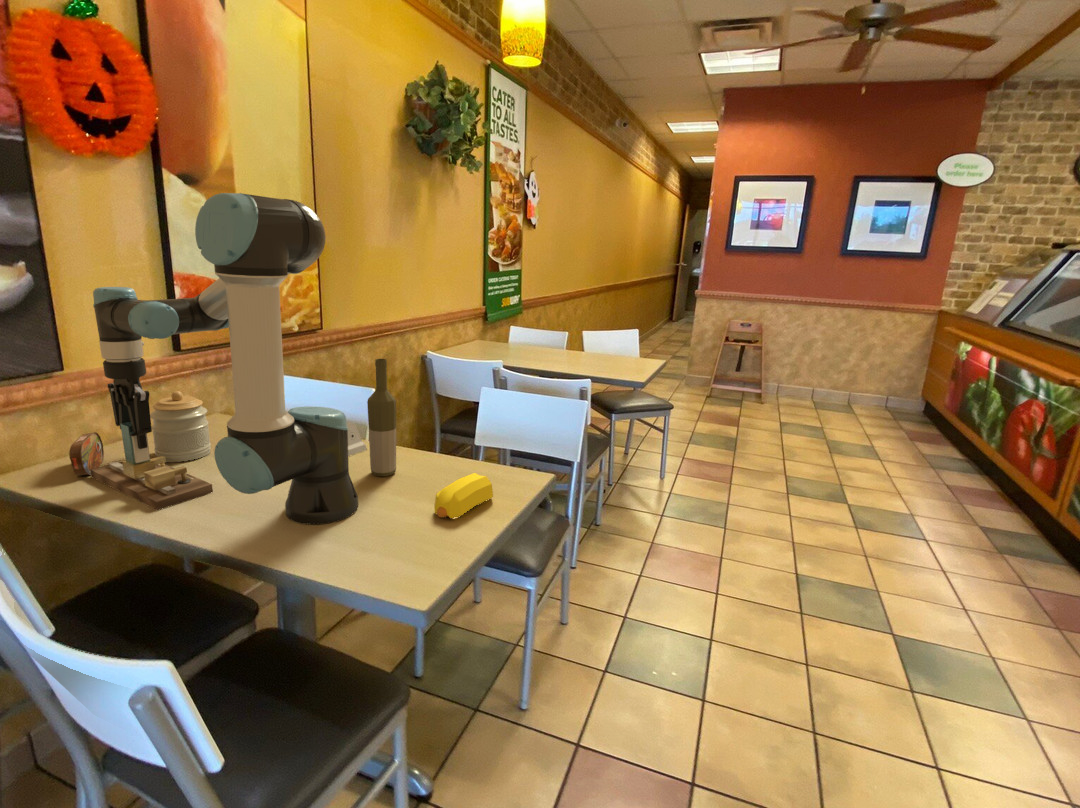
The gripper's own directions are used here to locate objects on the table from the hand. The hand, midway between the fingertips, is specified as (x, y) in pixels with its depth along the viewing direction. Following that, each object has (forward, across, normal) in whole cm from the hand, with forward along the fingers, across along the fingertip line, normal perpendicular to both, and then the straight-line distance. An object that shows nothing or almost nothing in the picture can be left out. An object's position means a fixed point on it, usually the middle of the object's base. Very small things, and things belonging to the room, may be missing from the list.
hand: (137, 458), depth 132 cm
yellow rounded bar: (+8, -66, -37) cm, 76 cm away
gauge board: (+7, 0, -2) cm, 7 cm away
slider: (+4, 0, -2) cm, 5 cm away
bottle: (+7, -37, -40) cm, 55 cm away
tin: (+7, +21, +2) cm, 22 cm away
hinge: (+7, -17, -42) cm, 46 cm away
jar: (+7, +14, -17) cm, 23 cm away
